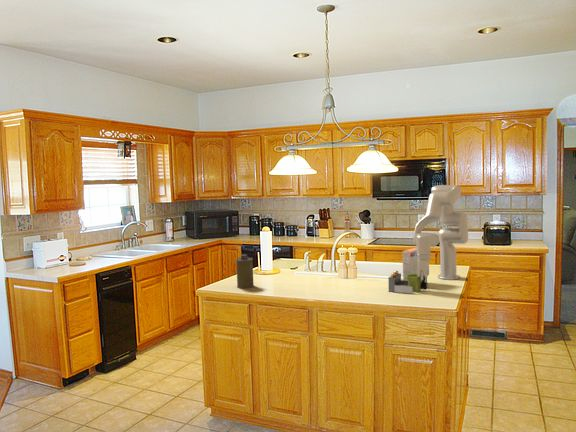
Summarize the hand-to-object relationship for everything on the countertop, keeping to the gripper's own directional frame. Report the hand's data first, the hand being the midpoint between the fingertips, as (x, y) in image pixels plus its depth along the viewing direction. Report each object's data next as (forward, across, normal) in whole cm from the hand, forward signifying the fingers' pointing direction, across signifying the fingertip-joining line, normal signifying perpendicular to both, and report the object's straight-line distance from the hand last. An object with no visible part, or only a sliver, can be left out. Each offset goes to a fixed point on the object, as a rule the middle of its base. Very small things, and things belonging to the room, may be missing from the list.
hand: (424, 289), depth 264 cm
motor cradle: (+1, 0, -12) cm, 12 cm away
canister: (+2, +22, -104) cm, 107 cm away
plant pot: (+2, 0, -5) cm, 5 cm away
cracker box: (+2, -17, -10) cm, 20 cm away
